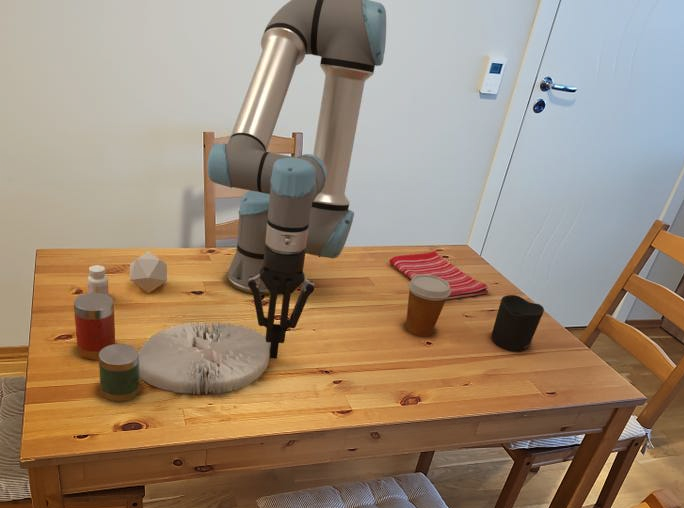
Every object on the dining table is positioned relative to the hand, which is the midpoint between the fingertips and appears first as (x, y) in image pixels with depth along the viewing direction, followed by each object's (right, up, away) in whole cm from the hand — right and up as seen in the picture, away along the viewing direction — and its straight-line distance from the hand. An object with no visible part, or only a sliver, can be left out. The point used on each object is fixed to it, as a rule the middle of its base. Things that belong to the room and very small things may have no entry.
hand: (273, 355), depth 130 cm
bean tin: (-28, -7, -12) cm, 31 cm away
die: (-30, +16, +23) cm, 41 cm away
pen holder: (+55, +3, +19) cm, 58 cm away
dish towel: (+44, +21, +45) cm, 66 cm away
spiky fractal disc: (-14, -2, -1) cm, 14 cm away
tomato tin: (-35, +1, -2) cm, 35 cm away
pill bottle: (-40, +13, +15) cm, 45 cm away
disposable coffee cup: (+34, +6, +20) cm, 40 cm away
